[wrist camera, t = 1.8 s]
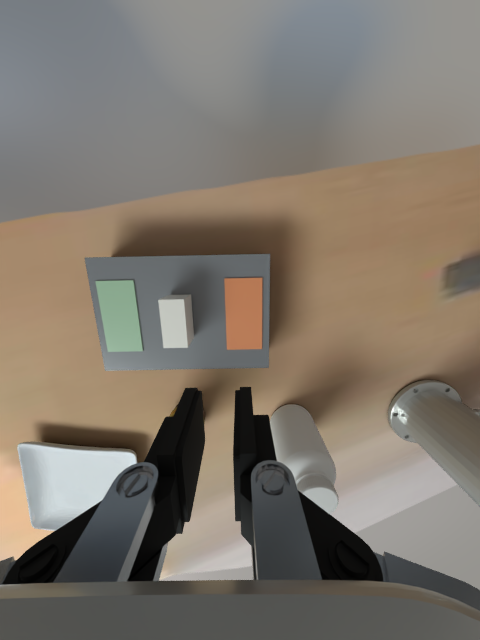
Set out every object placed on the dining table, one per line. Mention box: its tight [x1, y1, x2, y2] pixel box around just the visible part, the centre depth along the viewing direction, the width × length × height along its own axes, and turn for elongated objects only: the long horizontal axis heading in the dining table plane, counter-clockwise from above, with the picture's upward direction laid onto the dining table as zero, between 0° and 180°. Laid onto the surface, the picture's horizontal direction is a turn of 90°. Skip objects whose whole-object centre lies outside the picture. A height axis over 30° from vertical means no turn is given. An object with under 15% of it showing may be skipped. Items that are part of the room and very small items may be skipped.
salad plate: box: [18, 442, 137, 531], centre depth 45 cm, size 21×21×3 cm
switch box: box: [85, 254, 270, 371], centre depth 34 cm, size 24×16×6 cm, turn 91°
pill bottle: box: [270, 404, 338, 514], centre depth 35 cm, size 8×8×15 cm
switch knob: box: [158, 294, 194, 348], centre depth 29 cm, size 3×6×4 cm, turn 1°
